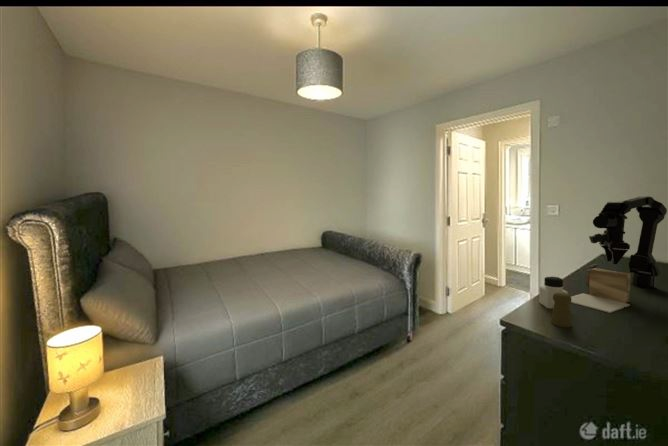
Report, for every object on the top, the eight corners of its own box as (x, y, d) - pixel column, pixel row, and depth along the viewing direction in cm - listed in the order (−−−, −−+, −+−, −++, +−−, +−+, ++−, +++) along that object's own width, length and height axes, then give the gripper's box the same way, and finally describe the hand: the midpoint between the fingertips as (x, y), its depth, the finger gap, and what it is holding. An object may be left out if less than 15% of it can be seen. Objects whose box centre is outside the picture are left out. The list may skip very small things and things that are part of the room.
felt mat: (582, 294, 131) (582, 293, 131) (629, 305, 117) (629, 304, 117) (562, 300, 125) (562, 299, 124) (609, 313, 110) (609, 311, 110)
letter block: (593, 293, 132) (594, 268, 131) (629, 301, 121) (630, 273, 120) (588, 295, 130) (589, 269, 129) (624, 303, 119) (625, 275, 118)
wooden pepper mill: (546, 320, 105) (547, 291, 104) (561, 319, 106) (562, 290, 105) (560, 327, 99) (561, 296, 98) (576, 326, 100) (577, 295, 99)
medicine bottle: (567, 309, 115) (568, 280, 114) (547, 308, 116) (548, 279, 115) (557, 303, 122) (558, 275, 121) (538, 302, 123) (539, 275, 122)
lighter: (593, 286, 142) (593, 266, 141) (584, 284, 145) (585, 265, 144) (600, 283, 146) (601, 264, 145) (592, 282, 149) (593, 263, 148)
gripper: (587, 226, 143) (584, 257, 144) (596, 228, 127) (593, 263, 128) (617, 228, 137) (614, 260, 138) (631, 230, 121) (628, 266, 122)
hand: (611, 262), depth 132 cm, fingers open, 9 cm apart
